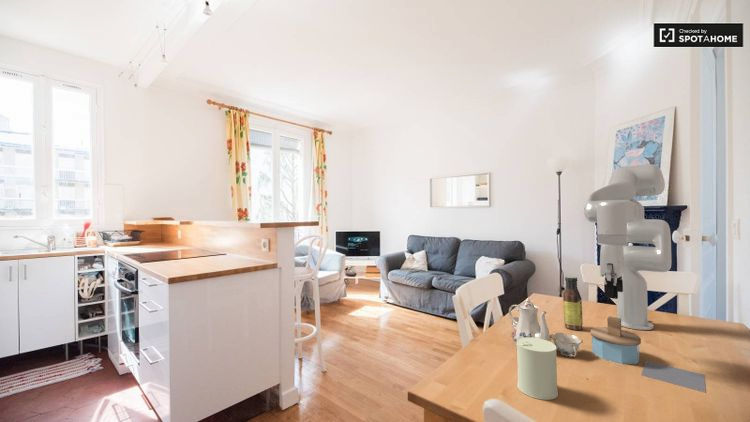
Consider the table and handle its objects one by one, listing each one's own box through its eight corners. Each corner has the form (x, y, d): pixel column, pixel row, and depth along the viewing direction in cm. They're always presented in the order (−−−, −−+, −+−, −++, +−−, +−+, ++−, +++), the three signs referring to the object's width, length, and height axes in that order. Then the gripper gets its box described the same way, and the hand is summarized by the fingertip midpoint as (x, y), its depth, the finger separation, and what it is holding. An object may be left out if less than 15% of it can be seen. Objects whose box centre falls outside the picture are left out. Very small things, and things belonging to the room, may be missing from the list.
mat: (645, 362, 93) (645, 360, 93) (704, 376, 84) (704, 374, 84) (641, 377, 84) (641, 374, 84) (705, 394, 76) (705, 392, 76)
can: (510, 380, 83) (509, 335, 83) (542, 379, 84) (541, 334, 84) (530, 401, 74) (529, 350, 74) (566, 398, 75) (565, 348, 75)
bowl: (597, 346, 104) (597, 328, 104) (640, 357, 96) (640, 337, 96) (590, 357, 96) (589, 337, 96) (636, 369, 88) (635, 348, 88)
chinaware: (593, 363, 96) (595, 308, 97) (555, 368, 90) (558, 310, 91) (519, 332, 122) (522, 290, 123) (486, 334, 116) (489, 289, 117)
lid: (594, 327, 105) (594, 309, 105) (642, 337, 96) (642, 317, 96) (586, 337, 96) (586, 318, 97) (638, 349, 88) (637, 328, 88)
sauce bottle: (585, 331, 118) (584, 279, 118) (567, 330, 119) (566, 278, 119) (578, 325, 124) (576, 275, 125) (561, 324, 125) (559, 275, 126)
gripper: (603, 237, 106) (604, 287, 106) (591, 242, 94) (593, 298, 94) (631, 238, 100) (633, 290, 100) (623, 243, 88) (625, 303, 88)
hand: (614, 294), depth 97 cm, fingers open, 9 cm apart
